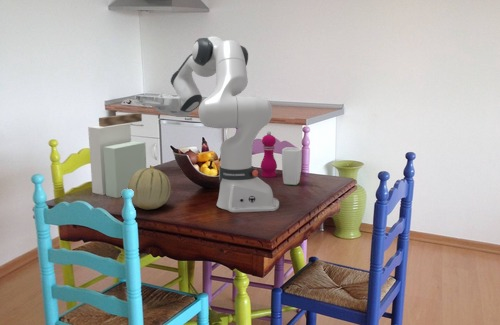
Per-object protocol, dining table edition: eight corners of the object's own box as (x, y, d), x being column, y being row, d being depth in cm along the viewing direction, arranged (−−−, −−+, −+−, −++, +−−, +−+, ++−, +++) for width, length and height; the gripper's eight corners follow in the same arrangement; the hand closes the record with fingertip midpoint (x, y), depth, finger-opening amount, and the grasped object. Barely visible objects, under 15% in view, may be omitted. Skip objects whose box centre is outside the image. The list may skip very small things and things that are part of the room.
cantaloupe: (128, 216, 179) (126, 172, 176) (129, 204, 193) (127, 163, 190) (172, 213, 182) (171, 170, 179) (170, 201, 196) (168, 161, 193)
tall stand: (123, 184, 221) (119, 122, 216) (133, 186, 218) (130, 123, 213) (92, 192, 208) (88, 127, 203) (102, 194, 205) (98, 128, 200)
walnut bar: (137, 120, 222) (136, 112, 221) (141, 121, 220) (141, 113, 219) (99, 126, 205) (98, 117, 205) (104, 126, 204) (103, 118, 203)
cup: (280, 185, 219) (281, 150, 216) (285, 181, 226) (285, 147, 222) (298, 186, 217) (298, 151, 213) (302, 182, 223) (302, 147, 220)
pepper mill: (275, 174, 239) (276, 130, 235) (277, 177, 232) (278, 132, 228) (259, 174, 239) (259, 130, 235) (261, 178, 232) (261, 132, 228)
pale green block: (136, 187, 217) (134, 141, 213) (147, 189, 214) (145, 142, 210) (106, 195, 204) (103, 147, 200) (117, 198, 201) (114, 148, 197)
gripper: (148, 95, 241) (127, 89, 229) (184, 98, 231) (164, 92, 219) (146, 108, 241) (125, 103, 229) (182, 112, 231) (162, 107, 219)
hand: (144, 98), depth 224 cm, fingers open, 8 cm apart
